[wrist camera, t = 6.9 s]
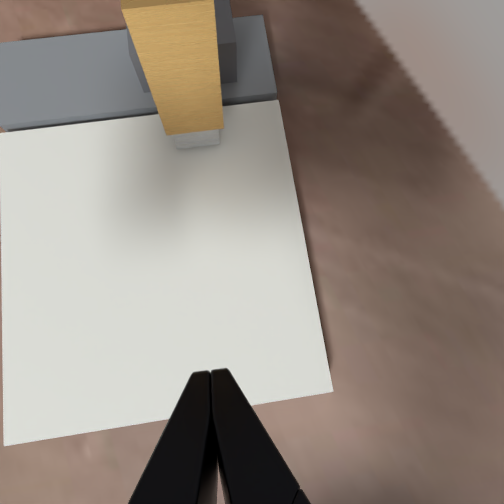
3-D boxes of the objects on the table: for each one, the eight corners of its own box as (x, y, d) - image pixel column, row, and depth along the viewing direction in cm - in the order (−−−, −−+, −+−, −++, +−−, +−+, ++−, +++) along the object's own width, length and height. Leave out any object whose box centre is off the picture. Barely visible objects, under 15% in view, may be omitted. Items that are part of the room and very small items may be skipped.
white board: (327, 388, 21) (350, 400, 17) (20, 438, 20) (-43, 466, 16) (261, 33, 26) (265, -33, 22) (12, 60, 25) (-39, -3, 21)
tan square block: (225, 143, 22) (213, -1, 13) (171, 150, 22) (121, 9, 13) (209, 38, 24) (188, -159, 15) (159, 43, 24) (106, -152, 14)
